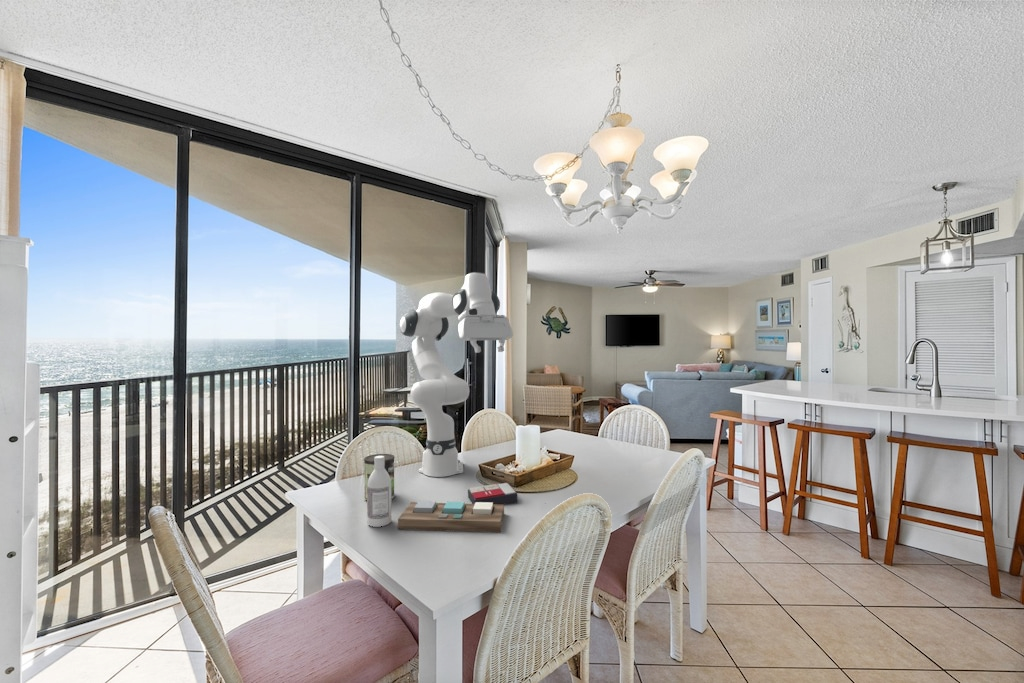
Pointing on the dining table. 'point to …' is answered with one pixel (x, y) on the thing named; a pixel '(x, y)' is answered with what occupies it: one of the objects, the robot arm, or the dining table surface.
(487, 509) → the cream key
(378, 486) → the bath foam
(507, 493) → the red and black box
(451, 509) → the teal key
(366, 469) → the coffee can
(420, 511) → the grey key
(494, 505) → the keypad
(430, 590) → the dining table surface
